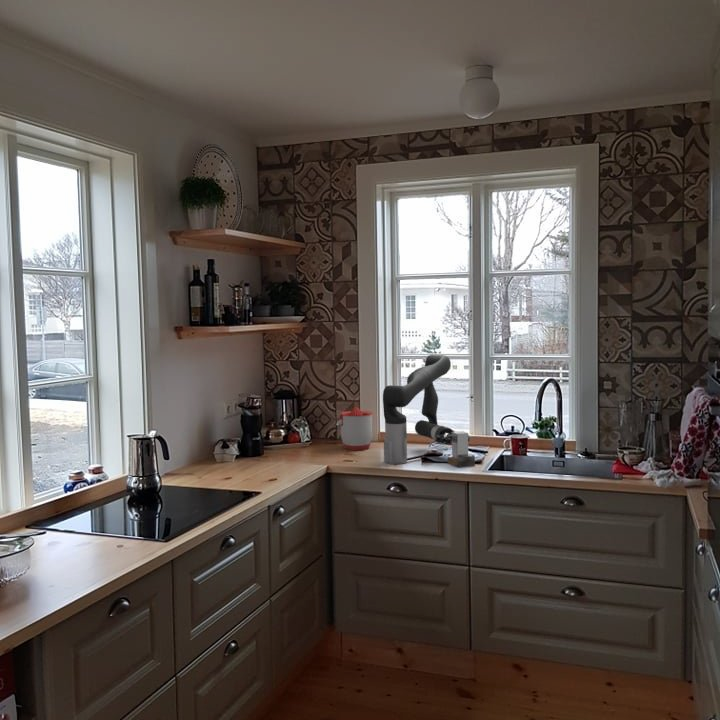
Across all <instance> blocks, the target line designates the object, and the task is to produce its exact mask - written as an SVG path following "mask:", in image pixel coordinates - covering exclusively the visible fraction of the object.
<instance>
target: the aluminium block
mask: <svg viewBox="0 0 720 720" xmlns="http://www.w3.org/2000/svg"><path fill="white" fill-rule="evenodd" d="M468 435H469V432H467V431H464V430H461V431H453V432H452V442H451V451H452V452H451V457H452V458H455V459H457V457H465V456H469V442H468Z"/></svg>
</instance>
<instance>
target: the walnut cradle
mask: <svg viewBox="0 0 720 720" xmlns="http://www.w3.org/2000/svg"><path fill="white" fill-rule="evenodd" d="M447 464H450V465H452V466H453V467H456V468H462V467H463V468H464V467H466V468H467V467H473V466H476V455H468V456H465V457H457V459H455V458H452V456H449V457H447Z"/></svg>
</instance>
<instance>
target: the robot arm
mask: <svg viewBox="0 0 720 720" xmlns="http://www.w3.org/2000/svg"><path fill="white" fill-rule="evenodd" d="M451 362H452V361H451V359H450V357H449V356H447V355H444V354H430V355H427V357H426V359H425V362H424V366H422V367H418V368H416V369H415V370H414V371H412V372H411V373H410V374H409V375H408V376H407V378H406V379H407V380H406V384H405V385H386V386H385V387H384V389H383V392H382V405H383V407H382V408H383V419H384V424H385V425H384V429H385V431H384V432H385V436H384V437H385V438H384V439H383V461H384V463H386V464H389V465H393V464H394V465H396V464H397V465H398V464H399V465H400V464H406V463H407V462H408V444H407V443H408V440H407V439H408V437H407V436H408V435H407V434H408V433H407V429H408V428H407V416H406V415H405V414H403V413H401V412H400V411H399V410H398V409H397V408H405V407H406V406H408V405H409V404H410V403H411V402H412V400H413V399H415V398H416V396H417V395H419V394H420V393H421V392H422V391H423V392H424V393H423V400H422V407H421V415H423V416H424V417H425V418H427V419H428V421H427V420H424V419H420V420H418V421H417V422H416V423H415V426H414V431H415V433H416V434H417V435H418V436H422V437H427V438H429V439H431V440H433V441H434V442H437V443H440V444H442V445H452V432H454V430H453V429H452V428H451V427H448V426H444V425H440V424H438V416H437V415H438V414H437V412H438V406H439V397H438V393H437V390H436V389H435V385H434V382H435V381H437V380H438V379H439V378H441V377H442V376H444V375H446V374H447V373H448V372H449V370H450V368H451V365H452V363H451ZM469 436H470V435H469V434H468V443H470V437H469Z"/></svg>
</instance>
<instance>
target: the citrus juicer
mask: <svg viewBox="0 0 720 720" xmlns="http://www.w3.org/2000/svg"><path fill="white" fill-rule="evenodd" d="M339 417H340V419H338V421H336V426H340V436H341V441H342V445H343V447H344V449H346V450H349V451H361V450H363V451H364V450H365V449H366V450H368V449H369V448H370V446H371V443H372V439H373V438H372V437H373V411H368V410H367V411H366V410H361V409H360V408H359V407H358V406H355V407H353V409H352V410H348V411H343V412H340V415H339Z"/></svg>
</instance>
